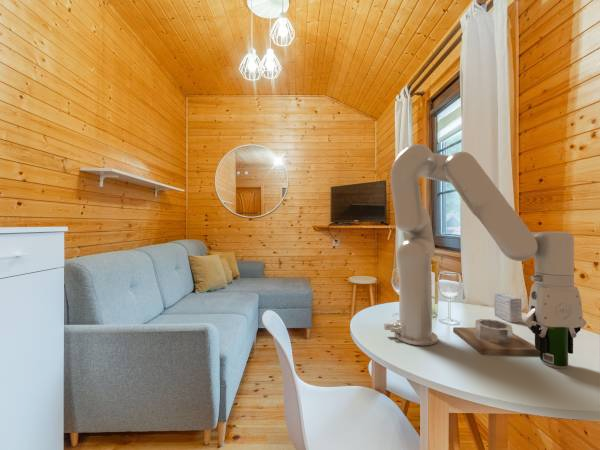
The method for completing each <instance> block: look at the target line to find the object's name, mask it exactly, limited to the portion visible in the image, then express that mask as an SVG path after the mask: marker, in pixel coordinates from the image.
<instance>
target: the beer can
mask: <svg viewBox="0 0 600 450" xmlns="http://www.w3.org/2000/svg"><path fill="white" fill-rule="evenodd" d="M540 329H541V326H540ZM540 329H539V330H540ZM545 337H546V338H547V339H548V353H543V352H541V351H540V355H539V359H540V361H541V363H542V364H544V365H545V366H547V367H549V368H553V369H558V370H565V369H567V368H568V366H569V353H568V328H566V327H558V328H550V327H548V329H547V332H546V335H545Z"/></svg>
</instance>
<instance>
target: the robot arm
mask: <svg viewBox="0 0 600 450" xmlns="http://www.w3.org/2000/svg"><path fill="white" fill-rule="evenodd" d="M420 178H423V179H428V180H434V181H439V182H443V183H450V184H451V185H452V186H453V188H454V190H455V191H456V192H457V193H458V195H459V196H460V198H461V200H462V201H463V202H464V203H465V205H466V206H467V208H468V209H469V211H470V212H471V213H472V214H473V215H474V216H475V217H476V218H477V219H478V220H479V221H480V223H481V224H482V225H483V227H484V228H485V230H486V231H487V232H488V234H489V235H490V236H491V238H492V240H493V241H494V242H495V243H496V245H497V246H498V248H499V250H500V251H501V253H502V254H503V255H504V256H505V257H506V258H508V259H509V260H513V261H514V262H515V261H516V262H523V261H528V260H530V259H532V258H534V268H533V269H534V272H533V273H534V275H530V281H531V282H533V283H532V285H531V288H530V292H529V298H528V313H526V315H525V316H524V317H523V318H522V322H521V323H522V324H523V325H525V326H526V327H527V328H528V329H529V330H530V331H531V332H532V334H534V345H535V348H536V349H537V350H539V351H541V352H543V353H548V339H547V338H546V337H545V335H546V332H547V329H548V327H550V328H558V327H566V328H568V354H572V355H573V354H574V339H576V337H577V334H578V333H579V332H580V331H581V330H582V329H583V328H584V327H585V326H586V325H587V324H588V323H587V321H586V320H585V319H584V314H583V305H582V299H581V295H580V291H579V289H578V286H575V238H574V235H573V234H572V233H570V232H568V231H567V232H566V231H539V232H538V231H537V232H535V231H531V230H530V229H529V228H528V227H527V225H526V223H524V221H523V220H522V219H521V217H520V216H519V214H517V212H516V211H515V210H514V209H513V207H512V206H511V205H510V204H509V202H508V201H507V199H506V198H505V196H504V194H502V193H501V191H500V190H499V188H498V187H497V186H496V184H495V183H494V182H493V180H492V179H491V178H490V177H489V175H488V174H487V173H486V172H485V169H483V167H482V166H481V165H480V163H479V162H478V161H477V159H476V158H475V157H474V156H473V155H472V154H471V153H469V152H466V151H457V152H454V153H452V154H451V155H446V154H440V153H434V152H433V151H432V150H431V149H430V147H428V146H427V145H424V144H422V143H421V144H420V143H416V144H411V145H409V146H407V147H406V148H404V149H403V150H401V152H400V153H399V154H398V155H397V157H396V158H395V159H394V160H393V163H392V165H391V169H390V187H391V188H390V189H391V194H392V203H393V204H392V205H393V211H394V222H395V224H396V226H397V228H398V229H399V230H400V231H401V232H402V236H403V241H402V242H401V244H399V247H398V249H397V254H396V255H397V257H396V258H397V259H396V260H397V268H398V288H399V289H398V290H399V291H398V292H399V293H398V296H399V301H398V302H399V303H398V305H399V307H398V308H399V309H398V310H399V319H396V322H394V323H384V324H383V329H384V331H390V333H394V337H395V338H396V339H397V340H398V341H401V342H403V343H405V344H408V345H414V346H432V345H435V344H436V343H437V342H438V335H437V334H436V333H435V332H433V303H432V302H433V301H432V300H433V298H432V297H433V294H432V293H433V292H432V291H433V289H432V284H433V283H432V280H433V279H432V259H433V258H434V255H435V253H436V246H435V239H434V233H433V227H432V222H431V221H432V220H431V217H430V214H429V212H428V210H427V209H426V208H425V207H424V206H423V200H422V192H421V186H420V181H419V179H420ZM533 322H534V324H533ZM540 326H541V329H540Z"/></svg>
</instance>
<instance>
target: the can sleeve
mask: <svg viewBox="0 0 600 450" xmlns="http://www.w3.org/2000/svg"><path fill="white" fill-rule="evenodd" d="M475 328H476V336H477V337H478V338H480V339H482V340H485V341H488V342H492V343H498V344H508V343H511V342H512V333H513V327H512V325H511V324H509V323H507V322H504V321H501V320H496V319H489V318H480V319H476V320H475Z"/></svg>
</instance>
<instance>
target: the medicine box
mask: <svg viewBox="0 0 600 450" xmlns="http://www.w3.org/2000/svg"><path fill="white" fill-rule="evenodd" d="M522 312H523V311H522V298H520V297H517V296H513V295H510V294H509V293H495V294H494V317H497V318H499V319H501V320H504V321H506V322H509V323H511V324H512V323H515V324H516V323H517V324H518V323H522V319H523V318H522V316H523V313H522Z"/></svg>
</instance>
